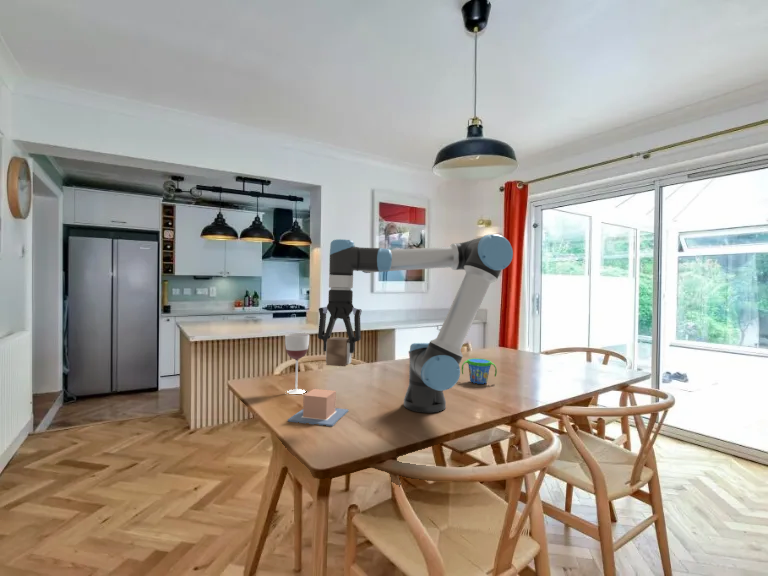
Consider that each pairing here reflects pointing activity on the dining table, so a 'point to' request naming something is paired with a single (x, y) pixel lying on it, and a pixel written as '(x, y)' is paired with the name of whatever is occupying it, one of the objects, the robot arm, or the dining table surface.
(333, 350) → the walnut column
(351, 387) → the dining table surface
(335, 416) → the board
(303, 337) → the wineglass
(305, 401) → the terracotta base
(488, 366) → the snack cup
